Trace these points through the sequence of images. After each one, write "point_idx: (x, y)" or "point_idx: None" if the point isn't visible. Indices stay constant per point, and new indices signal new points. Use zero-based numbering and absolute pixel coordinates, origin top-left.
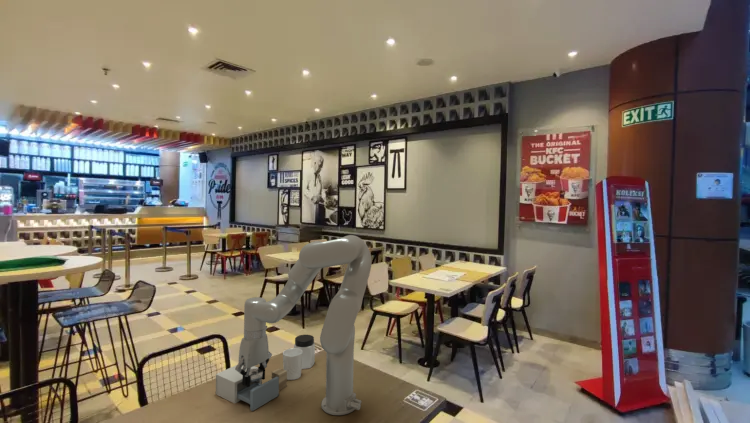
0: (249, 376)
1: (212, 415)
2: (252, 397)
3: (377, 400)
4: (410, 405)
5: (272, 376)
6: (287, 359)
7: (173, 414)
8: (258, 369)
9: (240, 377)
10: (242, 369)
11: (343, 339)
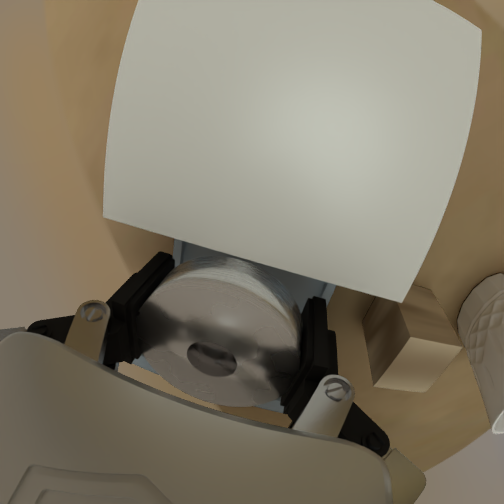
0: (127, 361)
1: (84, 159)
2: None
3: None
4: None
5: (399, 324)
6: (498, 391)
7: (55, 32)
8: (279, 371)
9: (181, 201)
10: (69, 338)
11: None
